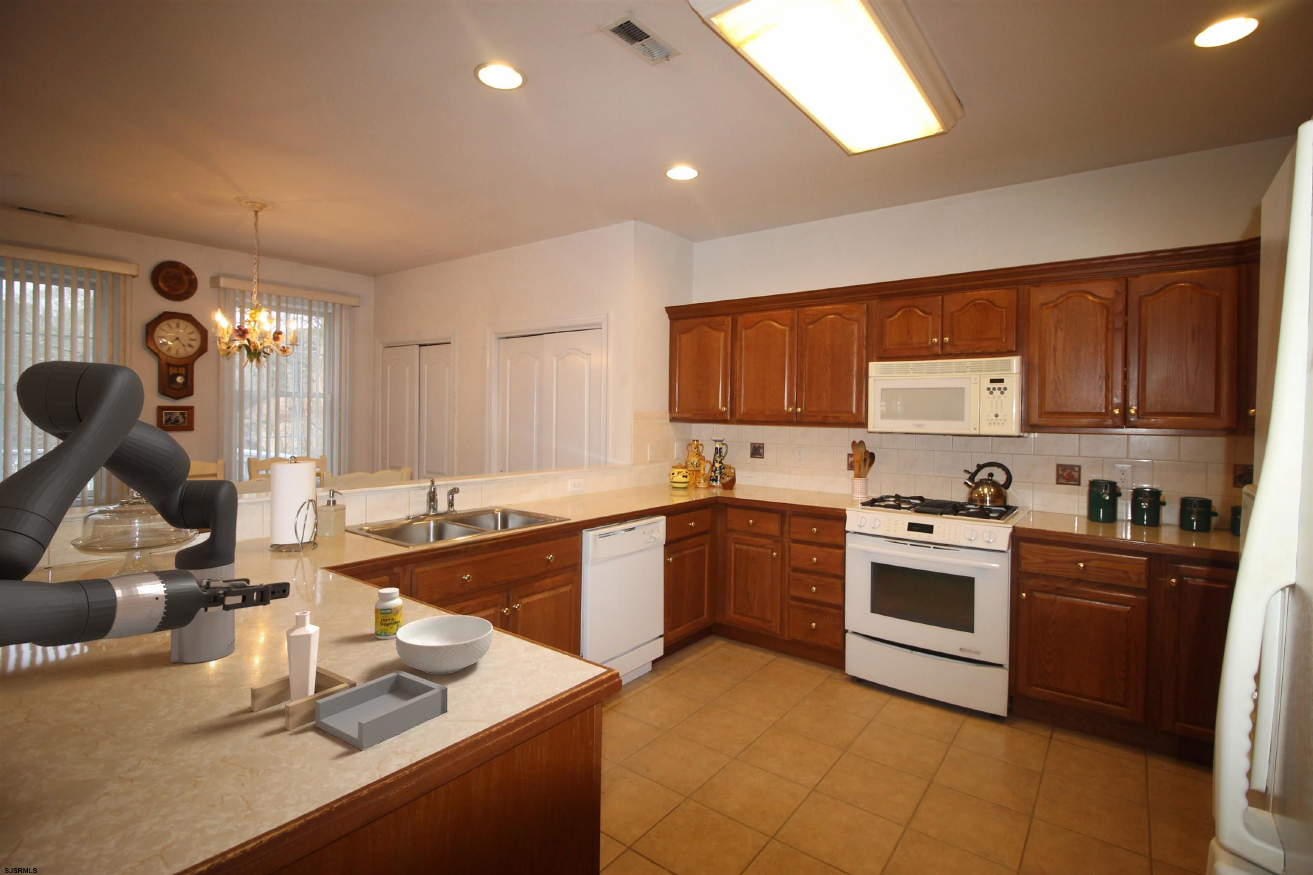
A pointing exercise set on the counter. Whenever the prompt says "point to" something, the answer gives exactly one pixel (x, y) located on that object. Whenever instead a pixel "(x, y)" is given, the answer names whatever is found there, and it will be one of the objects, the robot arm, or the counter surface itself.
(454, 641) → the cereal bowl
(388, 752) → the counter surface
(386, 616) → the supplement bottle
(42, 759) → the counter surface
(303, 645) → the white faceted bottle
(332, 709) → the grey tray
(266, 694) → the oak holder
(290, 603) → the counter surface
